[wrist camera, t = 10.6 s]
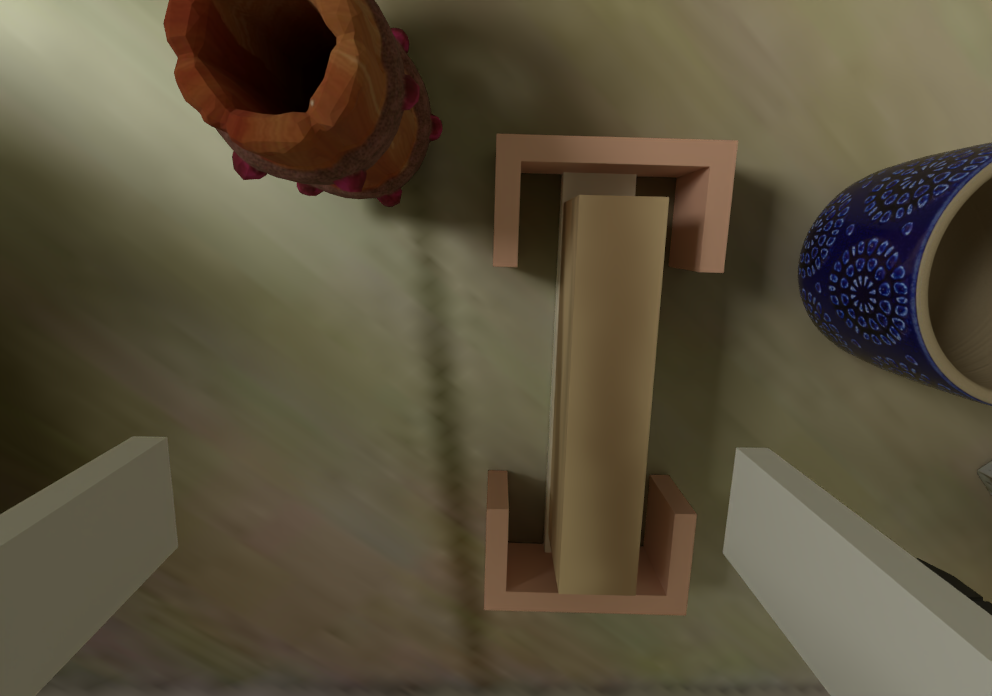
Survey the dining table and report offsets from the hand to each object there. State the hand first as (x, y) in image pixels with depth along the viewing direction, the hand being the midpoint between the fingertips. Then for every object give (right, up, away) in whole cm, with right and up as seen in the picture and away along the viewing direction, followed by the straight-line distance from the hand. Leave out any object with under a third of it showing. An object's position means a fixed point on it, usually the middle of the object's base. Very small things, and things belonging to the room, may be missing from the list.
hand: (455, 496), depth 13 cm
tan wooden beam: (+6, +2, +20) cm, 21 cm away
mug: (-7, +18, +17) cm, 26 cm away
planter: (+22, +8, +19) cm, 31 cm away
